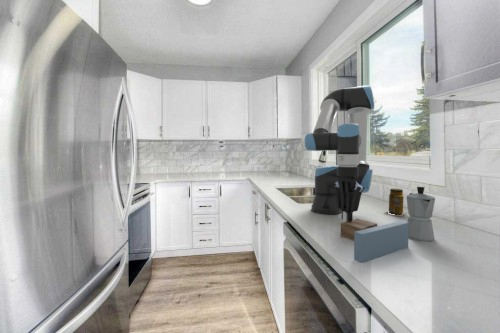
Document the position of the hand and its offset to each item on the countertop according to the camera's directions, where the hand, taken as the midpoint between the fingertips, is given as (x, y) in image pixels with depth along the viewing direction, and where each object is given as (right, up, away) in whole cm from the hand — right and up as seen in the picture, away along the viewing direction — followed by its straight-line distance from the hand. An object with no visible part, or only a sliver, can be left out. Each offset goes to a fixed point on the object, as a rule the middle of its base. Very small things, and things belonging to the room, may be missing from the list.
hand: (346, 228), depth 92 cm
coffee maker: (+24, -2, -4) cm, 24 cm away
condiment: (+34, 0, +27) cm, 44 cm away
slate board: (+3, -3, -19) cm, 19 cm away
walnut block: (+3, -2, -4) cm, 5 cm away
